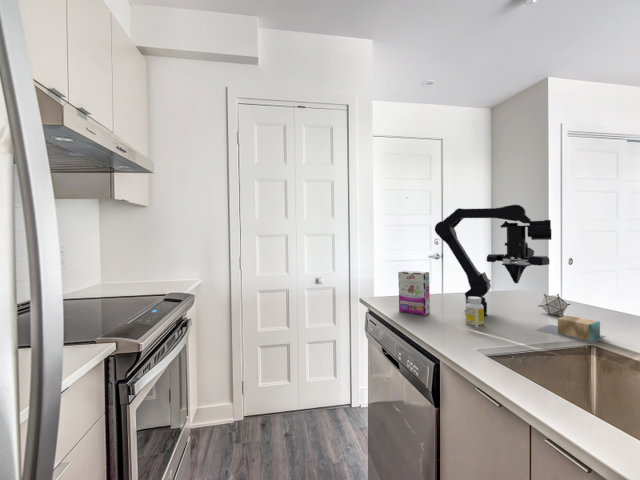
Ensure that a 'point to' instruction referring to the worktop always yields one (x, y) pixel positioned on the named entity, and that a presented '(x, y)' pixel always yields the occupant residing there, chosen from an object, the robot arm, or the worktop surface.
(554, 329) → the mat
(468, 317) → the supplement bottle
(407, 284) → the candy bar box
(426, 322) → the worktop surface
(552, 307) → the game die
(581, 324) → the oak block
